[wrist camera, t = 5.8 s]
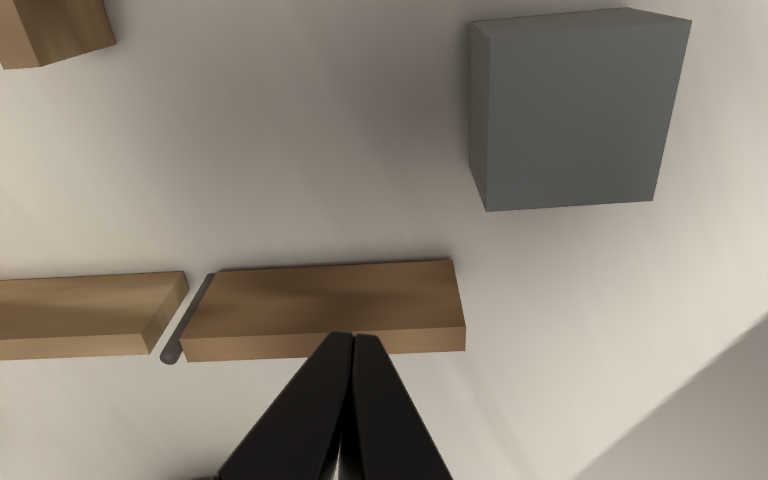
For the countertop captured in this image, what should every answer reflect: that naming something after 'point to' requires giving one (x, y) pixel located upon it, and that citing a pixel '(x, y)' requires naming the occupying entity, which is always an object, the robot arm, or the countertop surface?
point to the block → (572, 106)
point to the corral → (88, 293)
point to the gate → (326, 310)
